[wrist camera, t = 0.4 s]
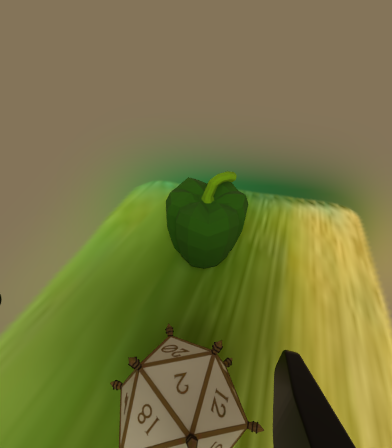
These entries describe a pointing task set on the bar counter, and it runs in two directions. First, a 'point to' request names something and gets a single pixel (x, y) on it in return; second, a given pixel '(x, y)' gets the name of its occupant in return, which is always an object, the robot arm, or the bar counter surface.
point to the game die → (181, 399)
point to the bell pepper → (206, 219)
